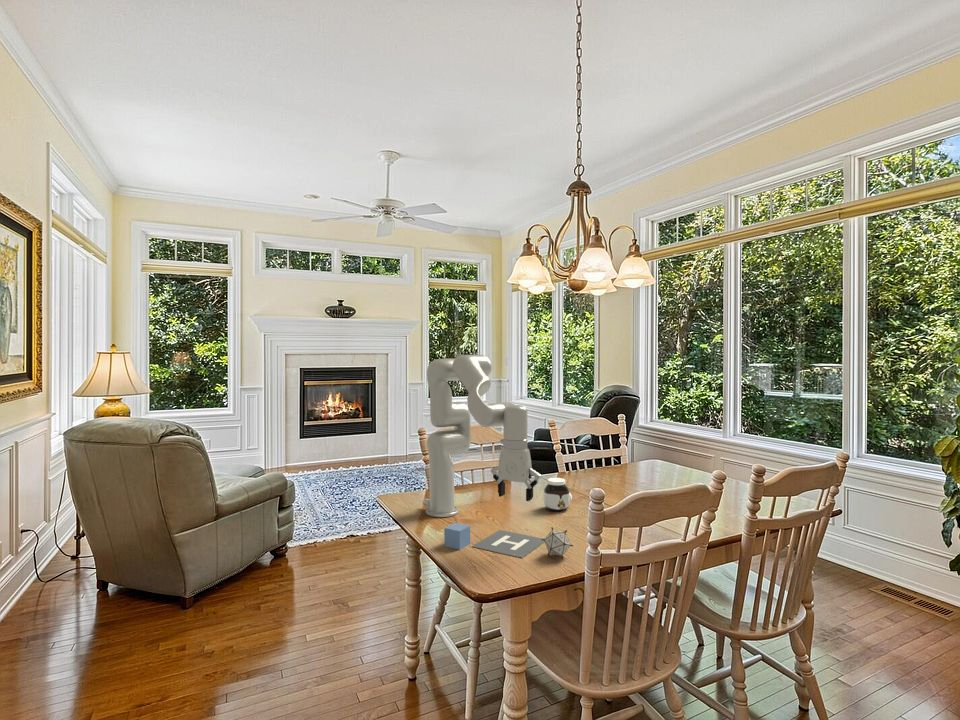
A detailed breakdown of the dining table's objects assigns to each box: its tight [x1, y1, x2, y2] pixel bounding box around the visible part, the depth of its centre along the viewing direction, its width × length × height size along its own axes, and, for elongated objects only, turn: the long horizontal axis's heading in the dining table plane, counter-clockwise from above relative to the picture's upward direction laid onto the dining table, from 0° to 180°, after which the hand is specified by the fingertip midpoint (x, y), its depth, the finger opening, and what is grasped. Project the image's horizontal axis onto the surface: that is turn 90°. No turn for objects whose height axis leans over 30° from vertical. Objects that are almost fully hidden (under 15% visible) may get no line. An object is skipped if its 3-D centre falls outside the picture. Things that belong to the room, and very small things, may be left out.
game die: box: [541, 526, 574, 560], centre depth 161 cm, size 9×8×10 cm
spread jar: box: [543, 477, 573, 513], centre depth 210 cm, size 12×11×12 cm
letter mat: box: [472, 529, 545, 559], centre depth 172 cm, size 18×18×1 cm
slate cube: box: [443, 522, 471, 551], centre depth 171 cm, size 6×6×6 cm
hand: (515, 497), depth 168 cm, fingers open, 9 cm apart
